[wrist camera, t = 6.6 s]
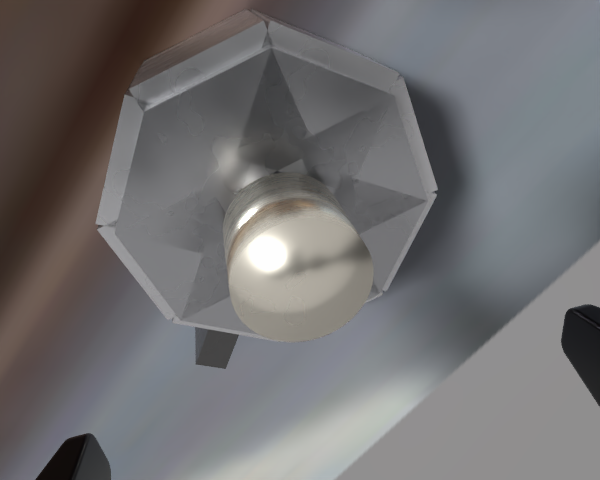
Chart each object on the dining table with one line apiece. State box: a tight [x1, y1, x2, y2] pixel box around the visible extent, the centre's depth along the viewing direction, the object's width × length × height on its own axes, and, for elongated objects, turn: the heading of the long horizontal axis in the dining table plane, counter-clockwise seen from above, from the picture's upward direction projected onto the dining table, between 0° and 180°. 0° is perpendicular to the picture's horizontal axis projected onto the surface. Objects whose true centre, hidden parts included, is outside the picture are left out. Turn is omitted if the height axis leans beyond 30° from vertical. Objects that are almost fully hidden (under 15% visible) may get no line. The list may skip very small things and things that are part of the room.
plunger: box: [223, 171, 374, 342], centre depth 16 cm, size 8×8×9 cm
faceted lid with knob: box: [96, 9, 438, 369], centre depth 18 cm, size 10×13×6 cm
